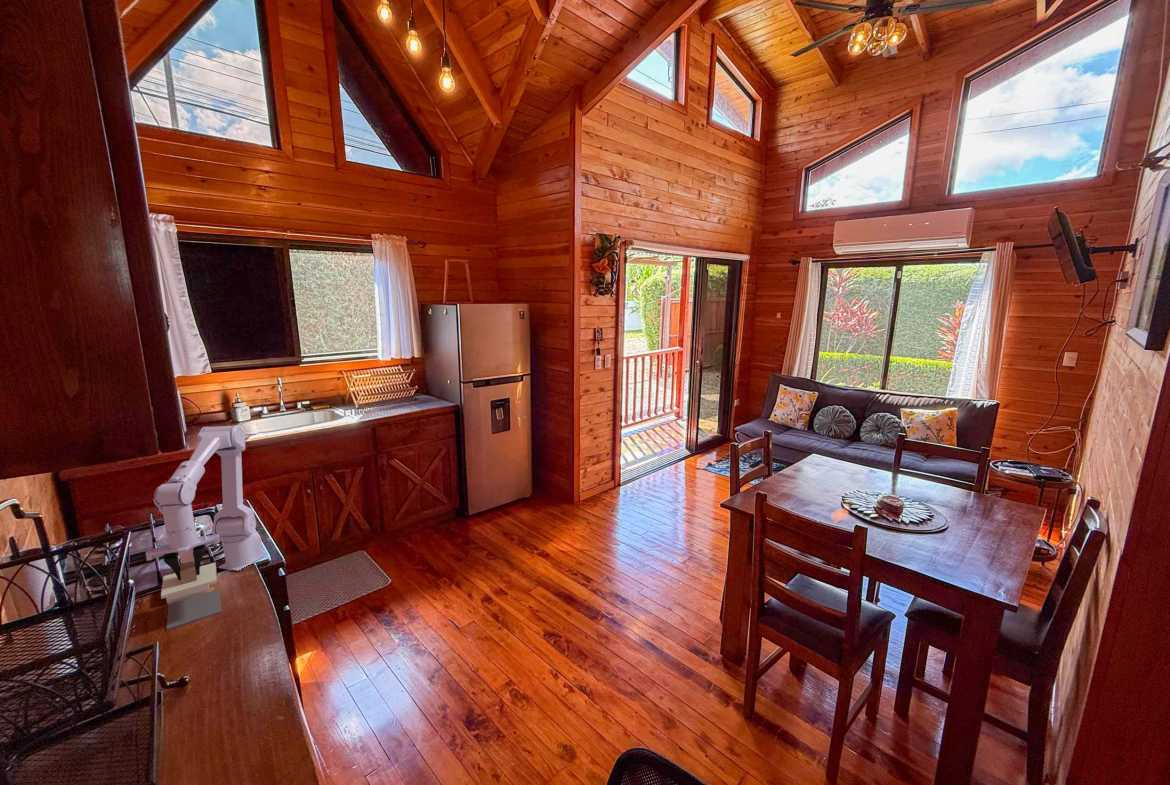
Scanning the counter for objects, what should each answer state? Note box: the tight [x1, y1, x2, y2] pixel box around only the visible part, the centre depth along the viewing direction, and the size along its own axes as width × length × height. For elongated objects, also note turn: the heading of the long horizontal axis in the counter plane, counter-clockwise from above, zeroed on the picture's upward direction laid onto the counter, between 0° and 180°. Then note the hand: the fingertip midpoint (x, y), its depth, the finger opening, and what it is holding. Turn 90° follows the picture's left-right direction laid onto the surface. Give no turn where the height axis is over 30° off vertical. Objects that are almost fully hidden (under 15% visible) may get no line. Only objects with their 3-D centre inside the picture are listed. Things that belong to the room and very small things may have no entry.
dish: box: [165, 585, 210, 605], centre depth 136 cm, size 9×9×4 cm
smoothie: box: [178, 532, 201, 564], centre depth 148 cm, size 6×6×14 cm
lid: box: [160, 561, 218, 600], centre depth 126 cm, size 11×11×4 cm
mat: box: [166, 588, 222, 631], centre depth 128 cm, size 13×11×1 cm
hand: (189, 575), depth 126 cm, fingers closed on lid, 3 cm apart
